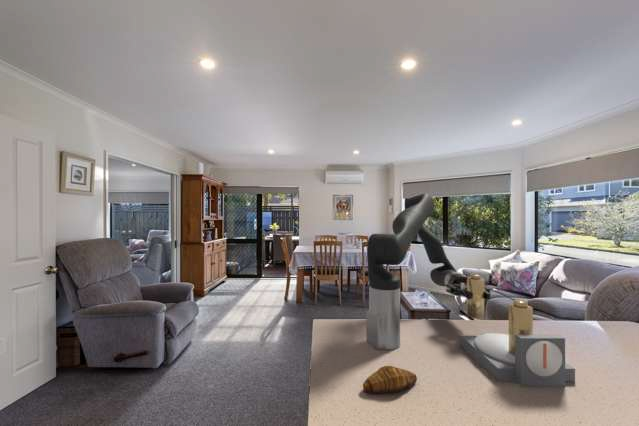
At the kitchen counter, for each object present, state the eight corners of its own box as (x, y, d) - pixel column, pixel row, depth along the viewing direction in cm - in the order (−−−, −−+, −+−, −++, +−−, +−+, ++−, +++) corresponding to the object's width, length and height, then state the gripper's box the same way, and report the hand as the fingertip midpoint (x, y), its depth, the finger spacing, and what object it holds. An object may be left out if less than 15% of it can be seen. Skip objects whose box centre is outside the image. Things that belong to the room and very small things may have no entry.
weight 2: (525, 360, 69) (524, 305, 69) (504, 351, 74) (504, 300, 74) (537, 356, 71) (537, 303, 71) (516, 347, 76) (516, 297, 76)
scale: (505, 387, 65) (505, 339, 65) (461, 345, 86) (461, 309, 86) (585, 388, 65) (585, 339, 65) (521, 346, 85) (521, 309, 85)
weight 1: (477, 319, 89) (477, 277, 89) (463, 314, 94) (463, 274, 94) (487, 317, 91) (488, 275, 91) (473, 312, 96) (473, 272, 96)
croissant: (371, 403, 60) (371, 379, 60) (357, 384, 66) (357, 363, 66) (425, 391, 64) (425, 368, 64) (407, 374, 70) (407, 354, 70)
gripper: (438, 272, 107) (455, 283, 90) (478, 273, 106) (503, 285, 89) (438, 292, 107) (455, 307, 90) (478, 294, 106) (503, 309, 89)
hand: (479, 296), depth 90 cm, fingers closed on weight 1, 5 cm apart
